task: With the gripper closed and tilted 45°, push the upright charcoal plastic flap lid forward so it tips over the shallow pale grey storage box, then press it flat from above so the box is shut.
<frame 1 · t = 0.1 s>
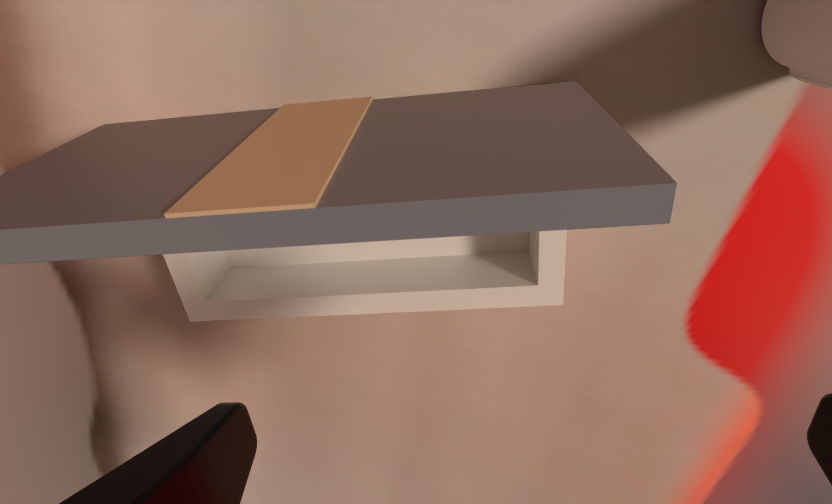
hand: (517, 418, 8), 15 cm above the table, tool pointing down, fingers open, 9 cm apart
storage box: (367, 193, 22), on the table
flap lid: (298, 156, 13), point 8 cm above the table, hinge at 88.0°
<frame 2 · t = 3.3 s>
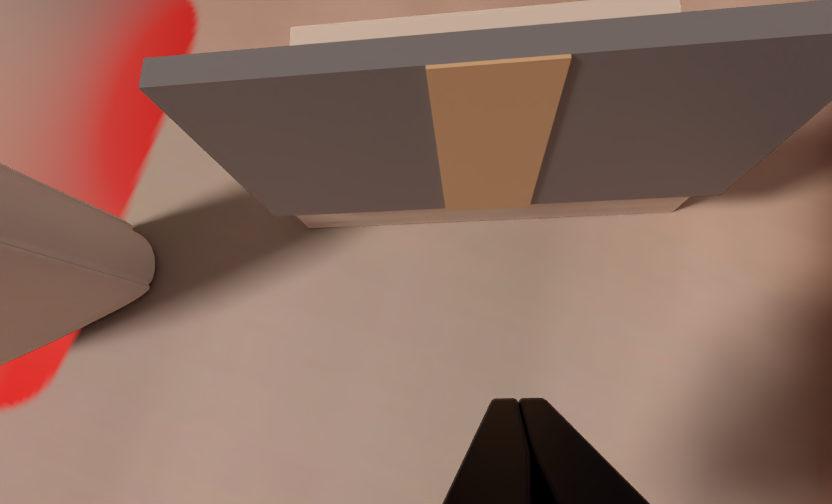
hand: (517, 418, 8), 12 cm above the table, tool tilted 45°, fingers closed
storage box: (479, 138, 23), on the table
flap lid: (490, 141, 14), point 8 cm above the table, hinge at 88.0°
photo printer: (61, 301, 23), on the table
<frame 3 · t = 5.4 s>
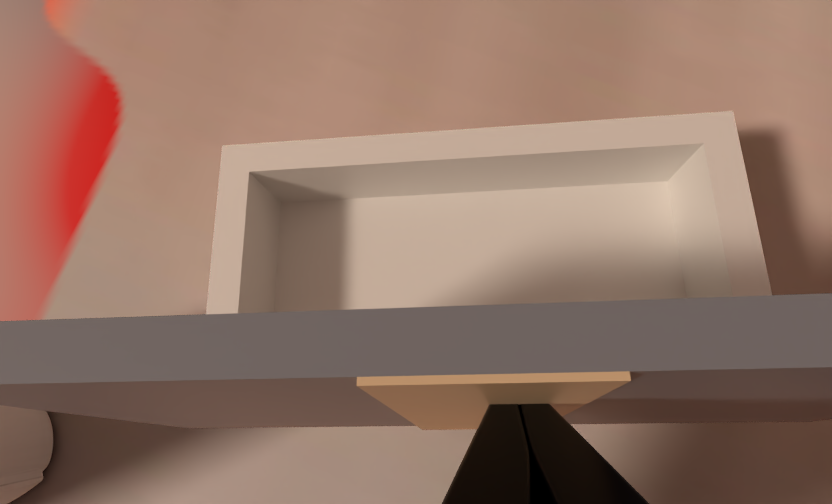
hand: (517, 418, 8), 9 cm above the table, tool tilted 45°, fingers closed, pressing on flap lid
storage box: (470, 277, 18), on the table
flap lid: (481, 390, 9), point 8 cm above the table, hinge at 82.0°, touching gripper
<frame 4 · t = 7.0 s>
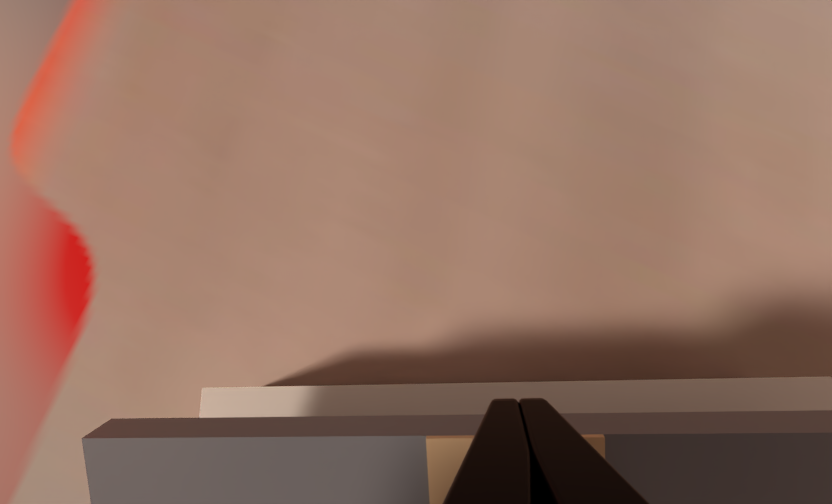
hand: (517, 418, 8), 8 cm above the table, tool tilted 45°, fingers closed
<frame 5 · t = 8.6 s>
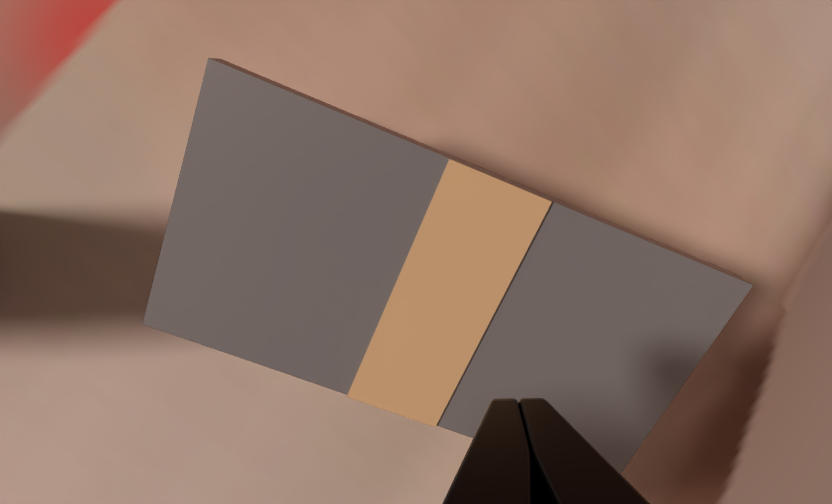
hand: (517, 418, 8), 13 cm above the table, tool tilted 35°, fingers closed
flap lid: (441, 300, 15), point 6 cm above the table, hinge at 22.8°
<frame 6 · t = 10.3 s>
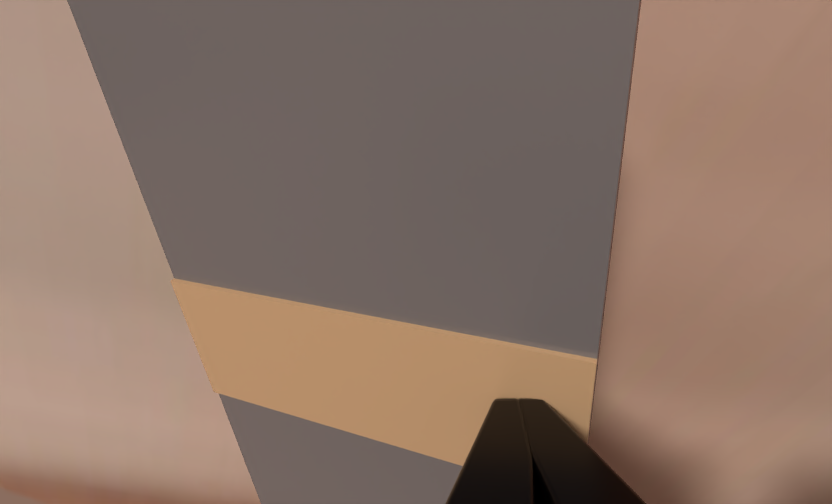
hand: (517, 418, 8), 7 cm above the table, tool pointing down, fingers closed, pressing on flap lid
flap lid: (368, 365, 9), point 6 cm above the table, hinge at 20.1°, touching gripper
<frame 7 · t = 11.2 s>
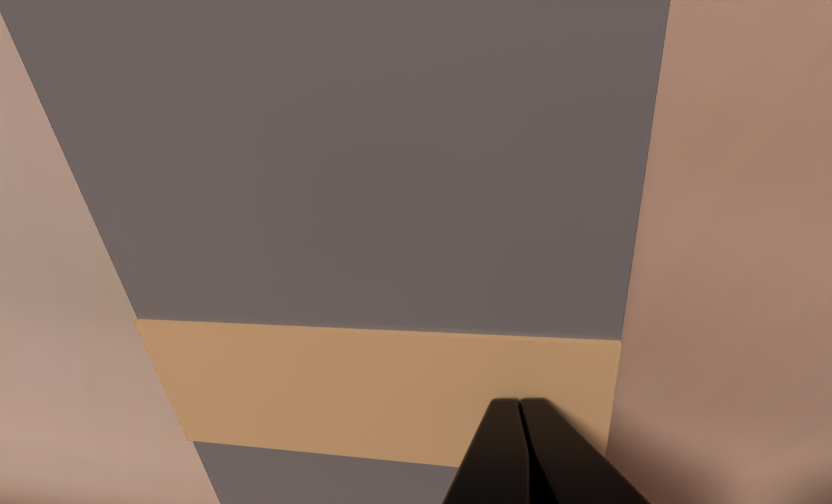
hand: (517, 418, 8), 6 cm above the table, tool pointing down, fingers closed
flap lid: (372, 382, 9), point 5 cm above the table, hinge at 7.6°
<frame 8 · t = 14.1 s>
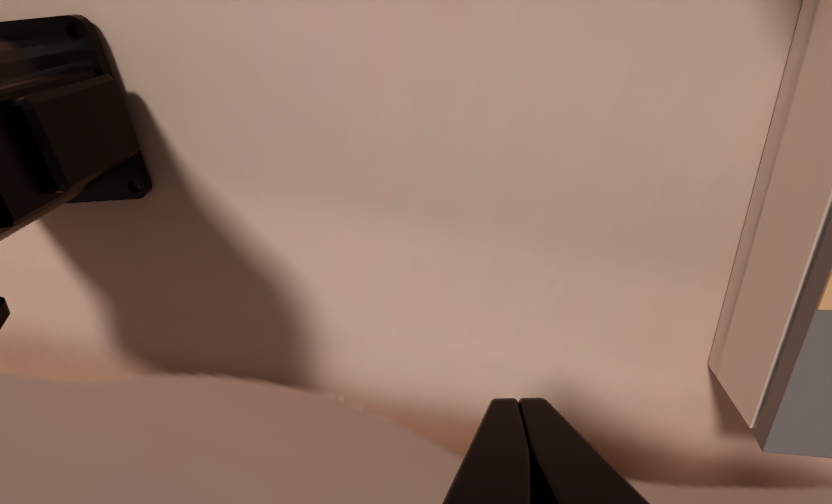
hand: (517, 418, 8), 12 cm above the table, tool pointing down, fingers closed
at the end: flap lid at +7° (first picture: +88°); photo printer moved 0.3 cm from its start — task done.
